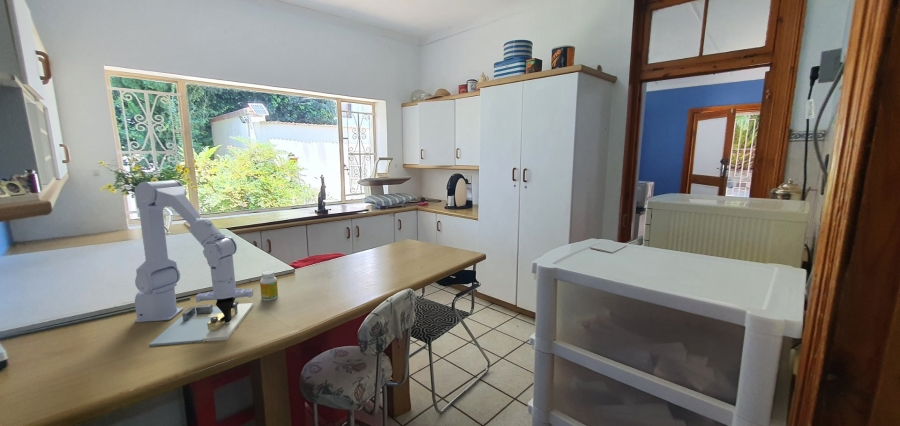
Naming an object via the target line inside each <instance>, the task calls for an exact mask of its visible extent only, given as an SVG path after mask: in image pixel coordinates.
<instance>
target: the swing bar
mask: <svg viewBox="0 0 900 426" xmlns="http://www.w3.org/2000/svg"><path fill="white" fill-rule="evenodd" d="M233 315H235V309H234V308H232V309H231V316H233ZM210 320H211V321H210V322H208V323H207V326H208V330H217V329H218V328H219V327H220V326H222V325H223V324H224V323H225V320H224V315H223V313H222V312H221V313H220V314H219V315H217V316H216V317H212V318H211V319H210Z"/></svg>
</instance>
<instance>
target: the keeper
mask: <svg viewBox="0 0 900 426" xmlns="http://www.w3.org/2000/svg"><path fill="white" fill-rule="evenodd" d="M213 307H214V306H213V304H212V303H211V304H198V305H197V306H189V307H188V308H187V309H186V310H185V311H184V312H182V315H181V316H183V321H188V320H189V319H190V318H191V317H193V316H194V315H195V314H196V315H199V314H211V313H212V312H213ZM195 308H196V311H195Z"/></svg>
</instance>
